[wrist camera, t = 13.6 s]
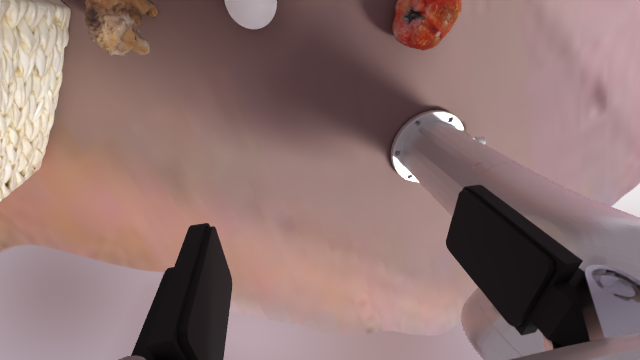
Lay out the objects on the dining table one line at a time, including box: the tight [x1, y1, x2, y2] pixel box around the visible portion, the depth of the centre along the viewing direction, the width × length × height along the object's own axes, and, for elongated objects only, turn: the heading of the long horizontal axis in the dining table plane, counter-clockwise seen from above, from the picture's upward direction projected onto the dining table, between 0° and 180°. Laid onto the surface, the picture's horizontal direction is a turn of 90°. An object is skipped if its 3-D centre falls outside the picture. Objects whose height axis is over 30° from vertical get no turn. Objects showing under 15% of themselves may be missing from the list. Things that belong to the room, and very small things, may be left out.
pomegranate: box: [392, 0, 461, 50], centre depth 32 cm, size 7×7×10 cm
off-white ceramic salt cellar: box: [224, 0, 277, 29], centre depth 28 cm, size 5×5×6 cm
